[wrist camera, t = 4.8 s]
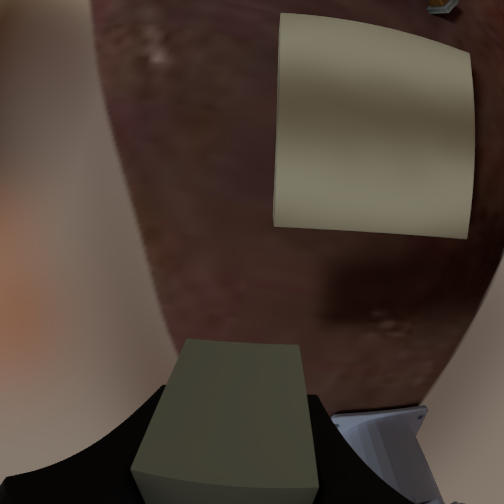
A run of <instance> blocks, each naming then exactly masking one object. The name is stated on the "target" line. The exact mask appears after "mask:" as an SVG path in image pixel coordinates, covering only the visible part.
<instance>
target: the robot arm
mask: <svg viewBox="0 0 504 504" xmlns="http://www.w3.org/2000/svg"><path fill="white" fill-rule="evenodd" d="M165 387H166V385H162V386H161V387H160V388H159V389H158V390H157V391H156V392H155V393H154V394H153V395H152V396H151V397H150V398H149V399H148V400H147V401H146V402H145V403H144V404H143V405H142V406H141V407H140V408H139V409H137V410H136V411H135V412H134V413H133V414H132V415H131V416H130V417H129V418H128V419H126V420H125V421H124V422H123V423H122V424H120V425H119V426H118V427H116V428H115V429H114V430H113V431H111V432H110V433H109V434H108V435H106V436H105V437H103V438H102V439H100V440H99V441H97V442H96V443H94V444H93V445H91V446H90V447H88V448H86V449H84V450H83V451H81V452H79V453H77V454H75V455H73V456H71V457H69V458H67V459H65V460H63V461H60V462H58V463H55V464H53V465H50V466H48V467H45V468H42V469H38V470H35V471H32V472H27V473H23V474H19V475H14V476H9V477H6V478H5V479H4V481H3V482H2V484H1V485H0V504H146V503H145V501H144V499H143V497H142V495H141V493H140V491H139V488H138V486H137V484H136V482H135V479H134V477H133V475H132V473H131V470H130V469H131V466H132V464H133V461H134V459H135V457H136V454H137V452H138V450H139V447H140V445H141V442H142V440H143V438H144V435H145V433H146V431H147V428H148V426H149V424H150V421H151V419H152V417H153V414H154V412H155V410H156V407H157V405H158V403H159V401H160V398H161V396H162V394H163V391H164V389H165ZM307 401H308V408H309V415H310V422H311V429H312V436H313V444H314V451H315V459H316V467H317V475H318V483H319V489H318V491H317V494H316V496H315V499H314V501H313V504H445V503H444V501H443V499H442V496H441V494H440V492H439V489H438V487H437V484H436V482H435V480H434V477H433V475H432V472H431V470H430V468H429V466H428V463H427V461H426V459H425V457H424V454H423V452H422V450H421V448H420V445H419V443H418V441H417V439H416V437H415V436H416V434H417V432H418V430H419V428H420V426H421V424H422V422H423V420H424V418H425V416H426V413H427V411H428V409H427V407H426V406H424V405H423V406H416V407H409V408H401V409H393V410H384V411H373V412H361V413H346V414H335V415H333V416H332V417H331V418H330V416H329V415H328V413H327V412H326V410H325V408H324V406H323V405H322V403H321V401H320V399H319V397H318V396H317V395H307ZM335 424H337V425H335ZM451 504H463V503H458V502H453V503H451Z"/></svg>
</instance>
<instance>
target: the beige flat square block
mask: <svg viewBox="0 0 504 504" xmlns="http://www.w3.org/2000/svg"><path fill="white" fill-rule="evenodd" d="M474 160H475V113H474V94H473V81H472V71H471V63H470V55H469V53H467V52H464V51H461V50H459V49H456V48H453V47H451V46H448V45H445V44H442V43H439V42H436V41H433V40H430V39H427V38H423V37H420V36H416V35H413V34H409V33H406V32H402V31H398V30H394V29H390V28H385V27H381V26H376V25H371V24H366V23H361V22H356V21H350V20H344V19H337V18H330V17H322V16H313V15H302V14H289V13H281V16H280V28H279V49H278V92H277V126H276V155H275V180H274V204H273V221H274V227H294V228H313V229H331V230H348V231H364V232H380V233H394V234H408V235H422V236H434V237H447V238H459V239H467V235H468V228H469V221H470V212H471V203H472V193H473V180H474Z"/></svg>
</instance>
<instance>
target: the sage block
mask: <svg viewBox="0 0 504 504" xmlns="http://www.w3.org/2000/svg"><path fill="white" fill-rule="evenodd" d="M130 470H131V473H132V475H133V477H134V479H135V482H136V484H137V486H138V488H139V491H140V493H141V495H142V497H143V499H144V501H145V503H146V504H313V501H314V499H315V496H316V494H317V491H318V489H319V483H318V475H317V467H316V459H315V451H314V444H313V436H312V429H311V422H310V415H309V408H308V401H307V394H306V387H305V381H304V374H303V368H302V361H301V355H300V348H299V345H280V344H256V343H238V342H222V341H209V340H197V339H187V340H186V342H185V344H184V346H183V348H182V351H181V353H180V355H179V357H178V360H177V362H176V364H175V367H174V369H173V371H172V373H171V375H170V378H169V380H168V382H167V385H166V387H165V389H164V391H163V394H162V396H161V398H160V401H159V403H158V405H157V407H156V410H155V412H154V414H153V417H152V419H151V421H150V424H149V426H148V428H147V431H146V433H145V435H144V438H143V440H142V442H141V445H140V447H139V450H138V452H137V454H136V457H135V459H134V461H133V464H132V466H131V469H130Z"/></svg>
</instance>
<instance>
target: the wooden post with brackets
mask: <svg viewBox="0 0 504 504" xmlns="http://www.w3.org/2000/svg"><path fill="white" fill-rule="evenodd" d="M428 2H429V4H430V6H429V7H428V8H427V10H428V12H429V13H430V14H435V13H449V12H450V11H451V10H452V9H453V7H454V6H455V5H456V4H457V3H458V2H459V1H457V0H428Z"/></svg>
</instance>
